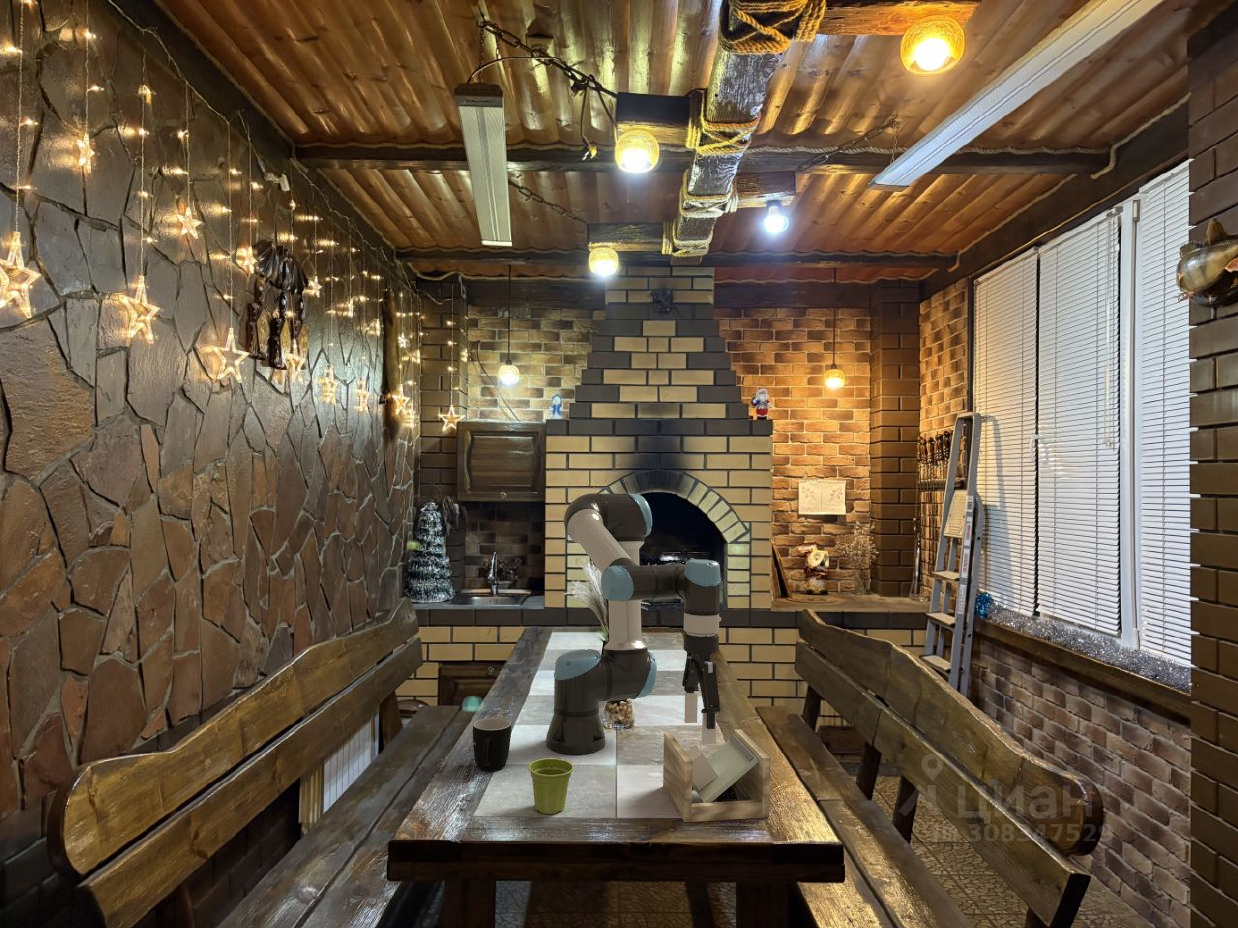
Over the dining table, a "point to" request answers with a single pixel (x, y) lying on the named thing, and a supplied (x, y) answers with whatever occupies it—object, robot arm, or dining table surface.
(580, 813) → the dining table surface
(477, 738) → the mug
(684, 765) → the hatch frame
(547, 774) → the plant pot
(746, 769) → the trapdoor
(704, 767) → the beige block
